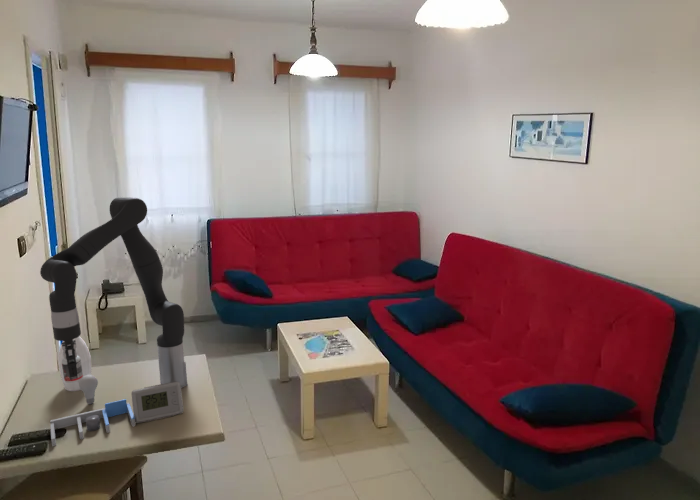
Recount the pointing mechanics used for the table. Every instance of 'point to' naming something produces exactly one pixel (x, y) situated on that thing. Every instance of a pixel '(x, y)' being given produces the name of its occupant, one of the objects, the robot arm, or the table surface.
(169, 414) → the digital clock
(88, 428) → the pronged rack
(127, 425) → the table surface
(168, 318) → the robot arm
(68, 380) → the pill bottle
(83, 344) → the bottle
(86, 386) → the lightbulb
